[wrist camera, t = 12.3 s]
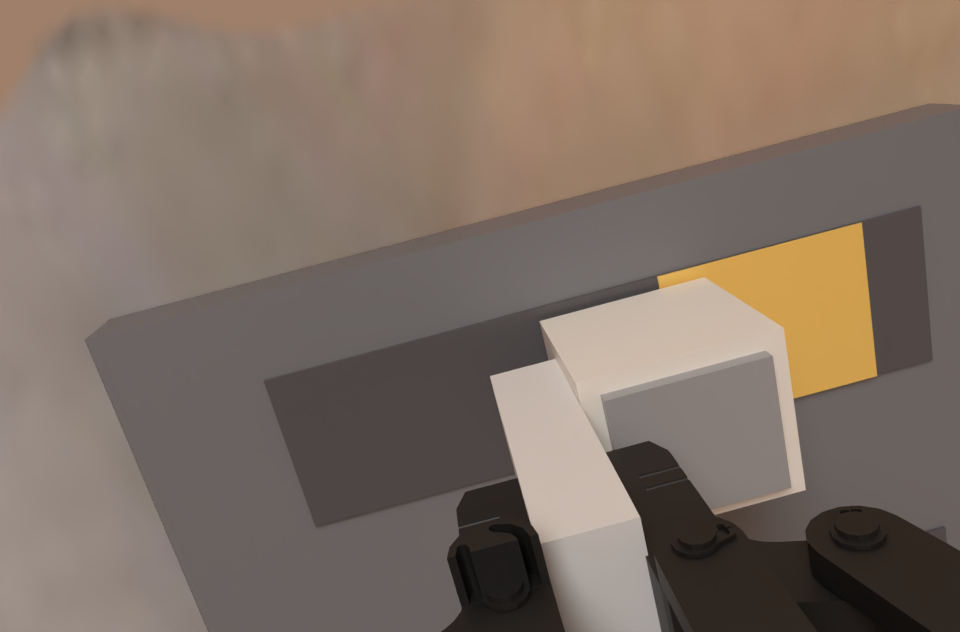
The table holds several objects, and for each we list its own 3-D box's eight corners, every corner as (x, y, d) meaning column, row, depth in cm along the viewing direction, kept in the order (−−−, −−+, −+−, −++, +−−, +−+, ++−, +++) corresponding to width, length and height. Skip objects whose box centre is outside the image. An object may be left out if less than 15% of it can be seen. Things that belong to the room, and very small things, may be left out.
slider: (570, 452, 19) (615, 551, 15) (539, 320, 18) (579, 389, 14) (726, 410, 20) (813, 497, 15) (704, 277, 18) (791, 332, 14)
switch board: (321, 837, 24) (316, 893, 23) (109, 319, 19) (81, 341, 18) (968, 657, 25) (1009, 698, 23) (930, 103, 20) (979, 105, 18)
